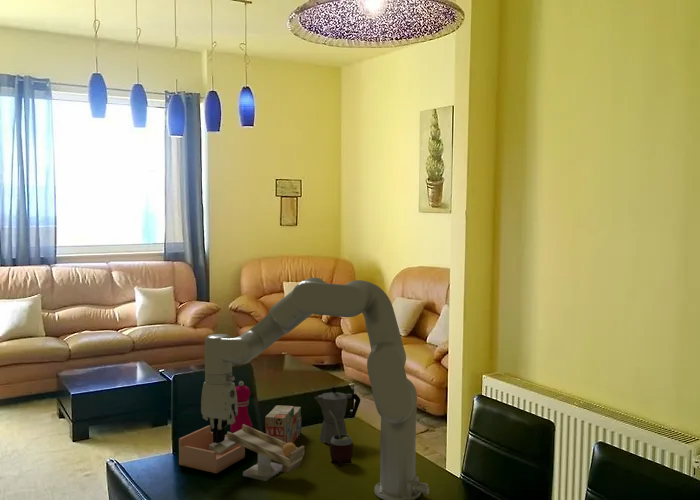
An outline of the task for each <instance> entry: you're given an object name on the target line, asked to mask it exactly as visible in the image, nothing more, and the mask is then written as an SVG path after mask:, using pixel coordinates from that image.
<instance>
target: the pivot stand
mask: <svg viewBox="0 0 700 500" xmlns="http://www.w3.org/2000/svg"><path fill="white" fill-rule="evenodd" d="M282 466H283V464H281V463H279V462H277V463H276V462H274V461H273V462H272V459H270V458H268V457H265V456H263V455H261V454H259V453H257V463H256V464H254V465H252V466H251V467H249V468H248V469H245V470H243V471H242V477H246V478H251V479H254V480H259V481H262V482H263V481H264V482H267V481H269V480H270V479H272V478H274V477H275V476H276V474H277V475H279V474H280V473H281V472H283V471H282ZM279 472H280V473H279ZM273 476H274V477H273Z"/></svg>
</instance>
